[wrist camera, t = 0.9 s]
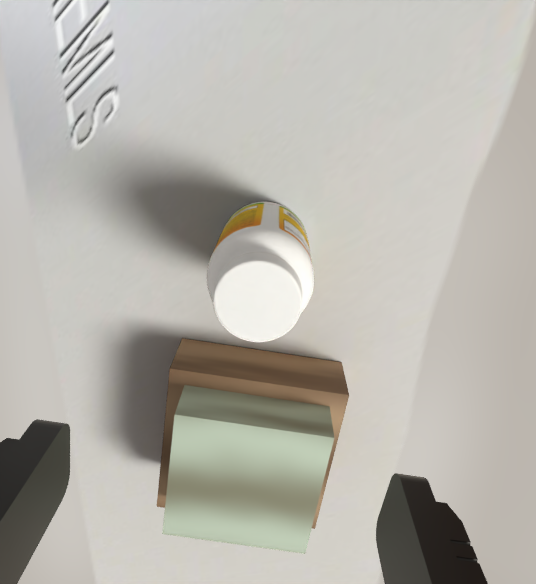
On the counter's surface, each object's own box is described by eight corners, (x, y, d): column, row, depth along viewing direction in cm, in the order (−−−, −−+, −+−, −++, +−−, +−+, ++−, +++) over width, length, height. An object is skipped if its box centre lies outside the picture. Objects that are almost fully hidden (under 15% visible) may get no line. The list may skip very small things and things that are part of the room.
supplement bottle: (215, 274, 31) (189, 346, 22) (228, 192, 29) (205, 233, 20) (297, 290, 32) (304, 366, 23) (316, 209, 30) (331, 257, 21)
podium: (182, 338, 33) (157, 396, 27) (341, 362, 33) (355, 425, 27) (169, 465, 37) (145, 543, 31) (311, 486, 38) (317, 567, 31)
